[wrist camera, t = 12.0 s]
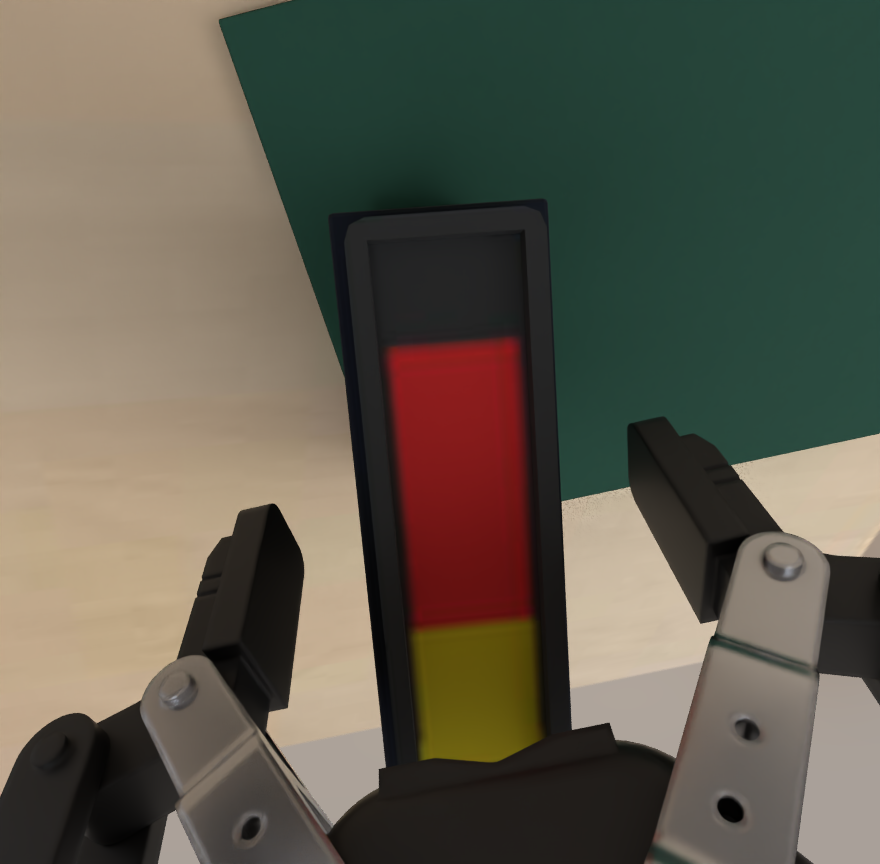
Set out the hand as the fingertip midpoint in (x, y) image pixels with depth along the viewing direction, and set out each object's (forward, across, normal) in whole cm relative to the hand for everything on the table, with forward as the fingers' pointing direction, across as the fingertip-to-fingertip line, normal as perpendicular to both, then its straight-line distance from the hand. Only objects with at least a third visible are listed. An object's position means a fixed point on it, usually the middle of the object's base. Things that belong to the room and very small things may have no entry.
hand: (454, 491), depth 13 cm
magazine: (+10, 0, 0) cm, 10 cm away
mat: (+10, -8, 0) cm, 13 cm away
